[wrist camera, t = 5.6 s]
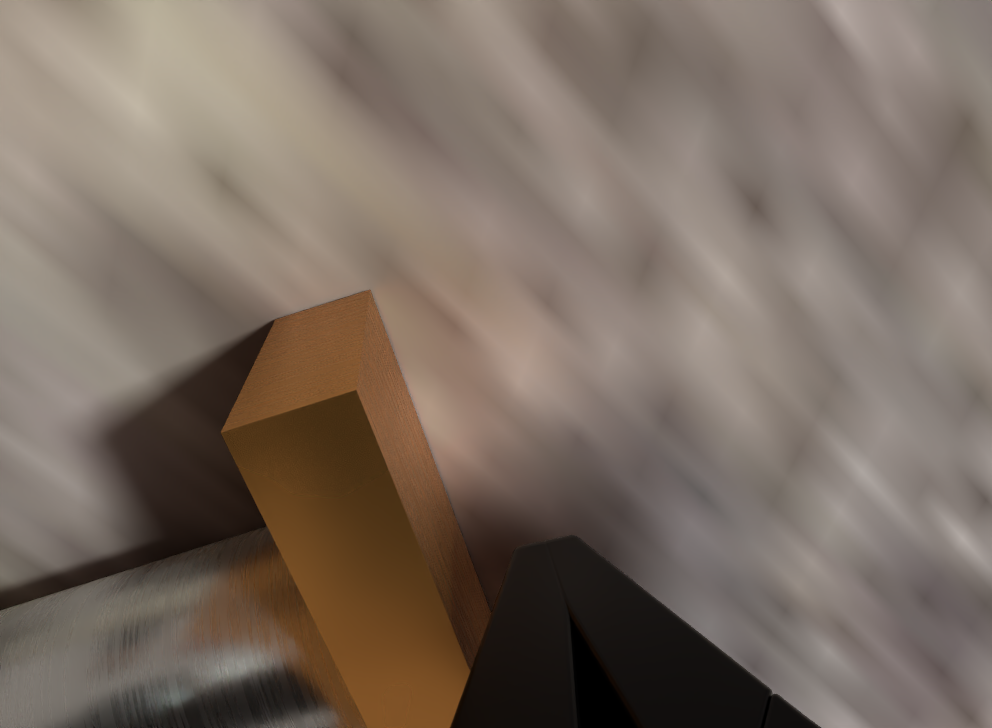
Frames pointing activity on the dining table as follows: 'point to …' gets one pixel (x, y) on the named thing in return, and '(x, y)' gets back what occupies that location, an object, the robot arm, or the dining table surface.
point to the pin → (280, 571)
